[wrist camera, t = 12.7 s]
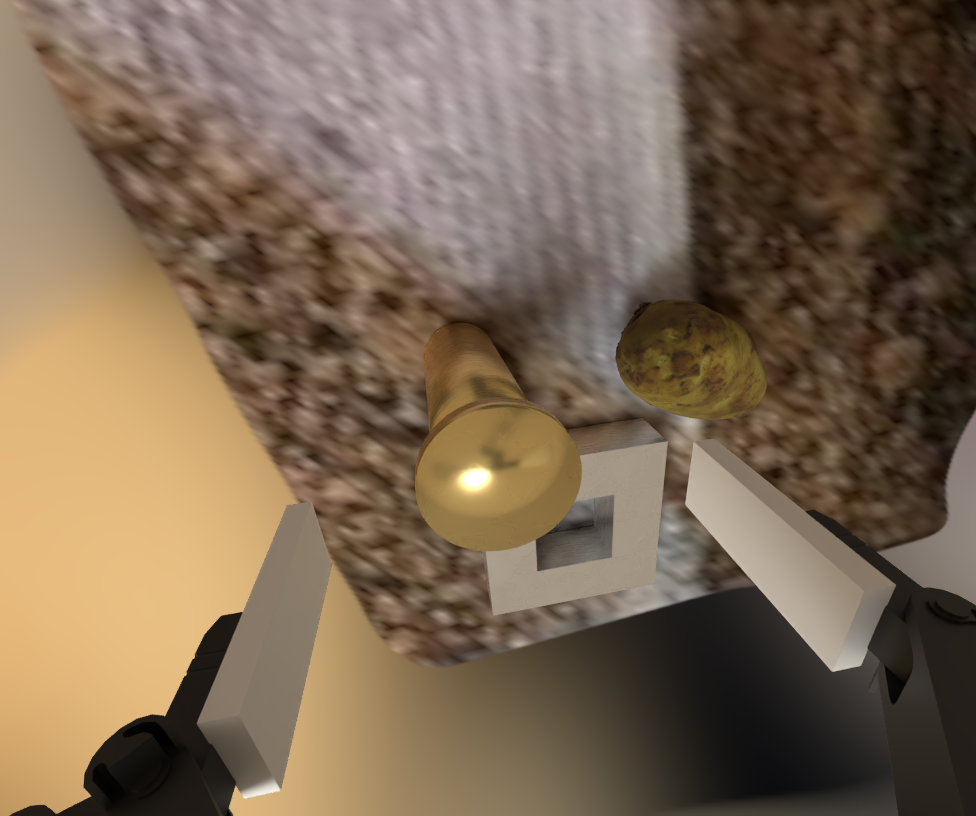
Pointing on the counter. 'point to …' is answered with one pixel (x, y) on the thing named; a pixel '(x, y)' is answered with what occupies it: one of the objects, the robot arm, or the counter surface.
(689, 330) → the potato
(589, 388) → the counter surface
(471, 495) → the gold tall flared cylinder
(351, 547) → the counter surface
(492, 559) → the housing
